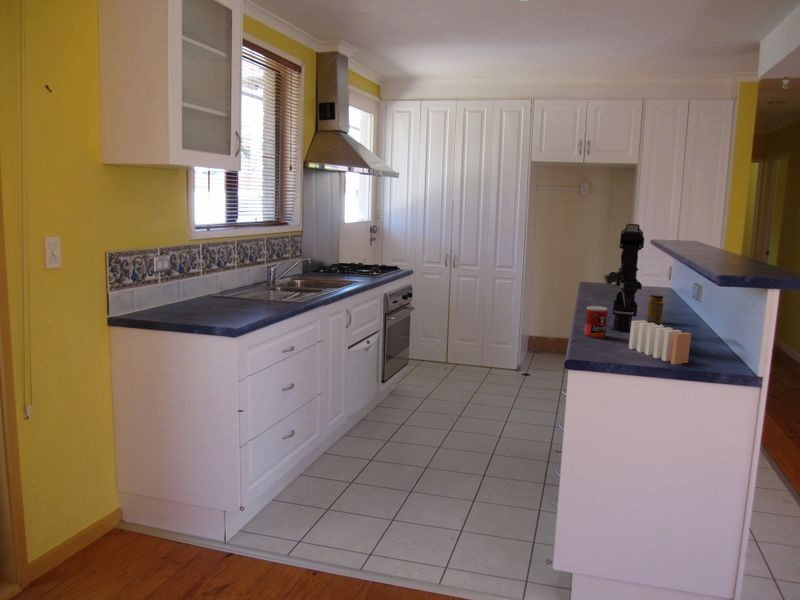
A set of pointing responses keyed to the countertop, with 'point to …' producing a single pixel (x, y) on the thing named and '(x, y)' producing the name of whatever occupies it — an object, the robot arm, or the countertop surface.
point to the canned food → (596, 321)
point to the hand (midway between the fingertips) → (626, 307)
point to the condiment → (655, 308)
